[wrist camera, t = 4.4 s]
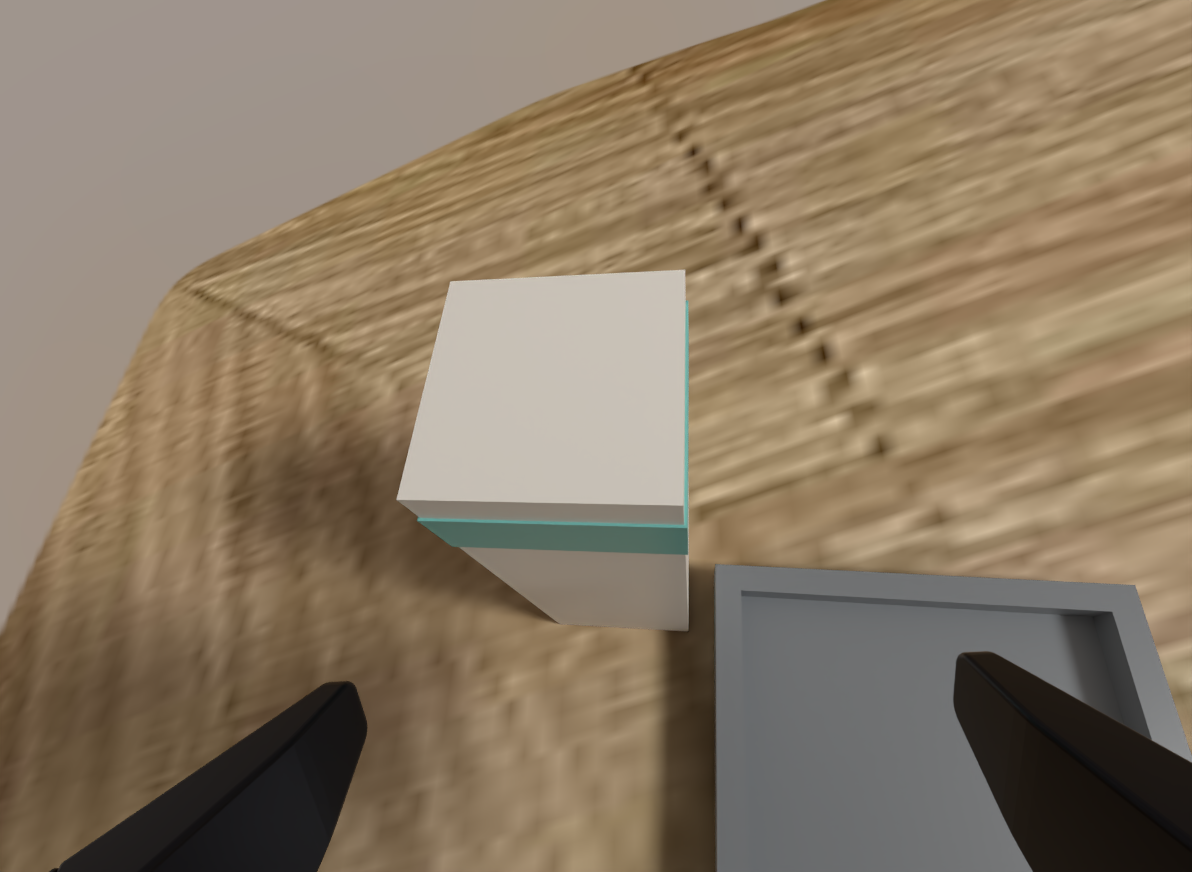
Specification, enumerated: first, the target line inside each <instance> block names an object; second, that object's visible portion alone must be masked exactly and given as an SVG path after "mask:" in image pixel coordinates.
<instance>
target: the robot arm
mask: <svg viewBox="0 0 1192 872" xmlns="http://www.w3.org/2000/svg"><path fill="white" fill-rule="evenodd" d="M953 705H954V710H955V713H956V716H957V719H958V721H959V723H960V725H961V728H962V730H963V732H964V734H965V736H966V738H967V740H968V743H969V745H970V747H971V749H972V751H973V753H974V756H975V758H976V760H977V762H978V764H979V766H980V768H981V771H982V773H983V775H984V777H985V779H986V781H987V784H988V786H989V788H990V790H991V792H992V794H993V796H994V799H995V801H996V803H997V805H998V807H999V809H1000V812H1001V814H1002V816H1003V818H1004V820H1005V822H1006V824H1007V826H1008V828H1009V830H1010V832H1011V834H1012V836H1013V838H1014V840H1015V841H1016V843H1017V845H1018V847H1019V849H1020V850H1021V852H1022V854H1023V856H1024V857H1025V859H1026V861H1027V863H1028V864H1029V866H1030V868H1031V870H1032V871H1033V872H1192V762H1190V761H1188V760H1187V759H1185V758H1183V757H1181V756H1179V755H1178V754H1176V753H1174V752H1172V751H1170V750H1169V749H1167V748H1165V747H1163V746H1161V745H1160V744H1158V743H1156V742H1154V741H1152V740H1151V739H1149V738H1147V737H1145V736H1143V735H1142V734H1140V733H1138V732H1136V731H1134V730H1133V729H1131V728H1129V727H1127V726H1125V725H1124V724H1122V723H1120V722H1118V721H1116V720H1115V719H1113V718H1111V717H1109V716H1107V715H1106V714H1104V713H1102V712H1100V711H1098V710H1097V709H1095V708H1093V707H1091V706H1089V705H1088V704H1086V703H1084V702H1082V701H1080V700H1079V699H1077V698H1075V697H1073V696H1071V695H1070V694H1068V693H1066V692H1064V691H1062V690H1061V689H1059V688H1057V687H1055V686H1053V685H1052V684H1050V683H1048V682H1046V681H1044V680H1043V679H1041V678H1039V677H1037V676H1035V675H1034V674H1032V673H1030V672H1028V671H1026V670H1025V669H1023V668H1021V667H1019V666H1017V665H1016V664H1014V663H1012V662H1010V661H1008V660H1007V659H1005V658H1003V657H1001V656H999V655H998V654H995V653H993V652H990V651H979V652H963V653H961V654H959V655H958V657H957V659H956V666H955V679H954V692H953ZM366 735H367V720H366V717H365V714H364V711H363V708H362V704H361V701H360V698H359V695H358V692H357V689H356V687H355V685H354V684H353V683H352V682H349V681H343V682H328V683H325V684H323V685H322V686H320V687H319V688H317V689H316V690H314V691H313V692H311V693H310V694H308V695H307V696H305V697H304V698H303V699H301V700H300V701H298V702H297V703H295V704H294V705H292V706H291V707H289V708H288V709H286V710H285V711H284V712H282V713H281V714H279V715H278V716H276V717H275V718H273V719H272V720H270V721H269V722H267V723H266V724H264V725H263V726H262V727H260V728H259V729H257V730H256V731H254V732H253V733H251V734H250V735H248V736H247V737H245V738H244V739H243V740H241V741H240V742H238V743H237V744H235V745H234V746H232V747H231V748H229V749H228V750H226V751H225V752H224V753H222V754H221V755H219V756H218V757H216V758H215V759H213V760H212V761H210V762H209V763H207V764H206V765H205V766H203V767H202V768H200V769H199V770H197V771H196V772H194V773H193V774H191V775H190V776H188V777H187V778H186V779H184V780H183V781H181V782H180V783H178V784H177V785H175V786H174V787H172V788H171V789H169V790H168V791H167V792H165V793H164V794H162V795H161V796H159V797H158V798H156V799H155V800H153V801H152V802H150V803H149V804H148V805H146V806H145V807H143V808H142V809H140V810H139V811H137V812H136V813H134V814H133V815H131V816H130V817H128V818H127V819H126V820H124V821H123V822H121V823H120V824H118V825H117V826H115V827H114V828H112V829H111V830H109V831H108V832H107V833H105V834H104V835H102V836H101V837H99V838H98V839H96V840H95V841H93V842H92V843H90V844H89V845H88V846H86V847H85V848H83V849H82V850H80V851H79V852H77V853H76V854H74V855H73V856H71V857H70V858H69V859H67V860H66V861H64V862H63V863H62V864H61V865H60V867H59V868H54V869H52V870H51V871H49V872H317V871H318V868H319V866H320V864H321V862H322V859H323V857H324V855H325V852H326V850H327V847H328V845H329V843H330V840H331V837H332V835H333V832H334V829H335V827H336V824H337V821H338V818H339V815H340V812H341V809H342V807H343V804H344V801H345V798H346V795H347V792H348V789H349V786H350V783H351V780H352V777H353V774H354V772H355V769H356V766H357V763H358V760H359V757H360V754H361V751H362V748H363V745H364V742H365V739H366Z"/></svg>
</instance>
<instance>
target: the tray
mask: <svg viewBox="0 0 1192 872" xmlns="http://www.w3.org/2000/svg"><path fill="white" fill-rule="evenodd" d="M979 651H990V652H993V653H995V654H998V655H999V656H1001V657H1003V658H1005V659H1007V660H1008V661H1010V662H1012V663H1014V664H1016V665H1017V666H1019V667H1021V668H1023V669H1025V670H1026V671H1028V672H1030V673H1032V674H1034V675H1035V676H1037V677H1039V678H1041V679H1043V680H1044V681H1046V682H1048V683H1050V684H1052V685H1053V686H1055V687H1057V688H1059V689H1061V690H1062V691H1064V692H1066V693H1068V694H1070V695H1071V696H1073V697H1075V698H1077V699H1079V700H1080V701H1082V702H1084V703H1086V704H1088V705H1089V706H1091V707H1093V708H1095V709H1097V710H1098V711H1100V712H1102V713H1104V714H1106V715H1107V716H1109V717H1111V718H1113V719H1115V720H1116V721H1118V722H1120V723H1122V724H1124V725H1125V726H1127V727H1129V728H1131V729H1133V730H1134V731H1136V732H1138V733H1140V734H1142V735H1143V736H1145V737H1147V738H1149V739H1151V740H1152V741H1154V742H1156V743H1158V744H1160V745H1161V746H1163V747H1165V748H1167V749H1169V750H1170V751H1172V752H1174V753H1176V754H1178V755H1179V756H1181V757H1183V758H1185V759H1187V760H1188V761H1190V762H1192V755H1191V752H1190V749H1189V746H1188V743H1187V740H1186V737H1185V734H1184V731H1183V728H1182V725H1181V722H1180V719H1179V716H1178V713H1177V710H1176V707H1175V704H1174V701H1173V698H1172V695H1171V692H1170V689H1169V686H1168V683H1167V680H1166V677H1165V674H1164V671H1163V668H1162V665H1161V662H1160V659H1159V656H1158V653H1157V650H1156V647H1155V644H1154V641H1153V638H1152V635H1151V632H1150V629H1149V626H1148V623H1147V620H1146V617H1145V614H1144V611H1143V608H1142V605H1141V602H1140V599H1139V596H1138V593H1137V590H1136V587H1135V585H1121V584H1101V583H1081V582H1061V581H1041V580H1021V579H1001V578H981V577H961V576H941V575H921V574H900V573H880V572H860V571H840V570H820V569H800V568H780V567H760V566H740V565H720V564H715V571H714V708H715V872H1033V871H1032V870H1031V868H1030V866H1029V864H1028V863H1027V861H1026V859H1025V857H1024V856H1023V854H1022V852H1021V850H1020V849H1019V847H1018V845H1017V843H1016V841H1015V840H1014V838H1013V836H1012V834H1011V832H1010V830H1009V828H1008V826H1007V824H1006V822H1005V820H1004V818H1003V816H1002V814H1001V812H1000V809H999V807H998V805H997V803H996V801H995V799H994V796H993V794H992V792H991V790H990V788H989V786H988V784H987V781H986V779H985V777H984V775H983V773H982V771H981V768H980V766H979V764H978V762H977V760H976V758H975V756H974V753H973V751H972V749H971V747H970V745H969V743H968V740H967V738H966V736H965V734H964V732H963V730H962V728H961V725H960V723H959V721H958V719H957V716H956V713H955V710H954V705H953V692H954V679H955V666H956V659H957V657H958V655H959V654H961V653H963V652H979Z"/></svg>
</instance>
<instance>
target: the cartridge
mask: <svg viewBox="0 0 1192 872" xmlns="http://www.w3.org/2000/svg"><path fill="white" fill-rule="evenodd" d="M688 409H689V330H688V301H686V297H685V270H672V271H652V272H631V273H611V274H591V275H571V276H551V277H530V278H510V279H490V280H470V281H451V282H450V286H449V290H448V294H447V298H446V302H445V306H444V310H443V314H442V318H441V322H440V326H439V330H438V334H437V338H436V342H435V346H434V350H433V354H432V358H431V362H430V366H429V370H428V374H427V379H426V383H425V387H424V391H423V395H422V399H421V403H420V407H419V411H418V415H417V419H416V423H415V427H414V431H413V435H412V439H411V443H410V447H409V451H408V455H407V459H406V463H405V467H404V471H403V475H402V479H401V483H400V487H399V491H398V495H397V499H396V500H397V501H399V502H400V503H401V504H403V505H404V506H405V507H407V508H408V509H409V510H410V511H412V512H413V513H414V514H416V515H417V516H418V519H417V521H418V522H419V523H421V524H422V525H423V526H425V527H426V528H428V529H429V530H430V531H432V532H433V533H434V534H436V535H437V536H438V537H440V538H441V539H442V540H444V541H445V542H446V543H448V544H449V545H450V546H452V547H459V548H460V549H462V550H463V551H464V552H466V553H467V554H468V555H470V556H471V557H472V558H474V559H475V560H476V561H477V562H479V563H480V564H481V565H483V566H484V567H485V568H487V569H488V570H489V571H491V572H492V573H493V574H495V575H496V576H497V577H499V578H500V579H501V580H502V581H504V582H505V583H506V584H508V585H509V586H510V587H512V588H513V589H514V590H516V591H517V592H518V593H520V594H521V595H522V596H523V597H525V598H526V599H527V600H529V601H530V602H531V603H533V604H534V605H535V606H537V607H538V608H539V609H541V610H542V611H543V612H544V613H546V614H547V615H548V616H550V617H551V618H552V619H554V620H555V621H556V622H558V623H559V624H567V625H584V626H601V627H619V628H636V629H654V630H671V631H688V632H689V482H688Z"/></svg>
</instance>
